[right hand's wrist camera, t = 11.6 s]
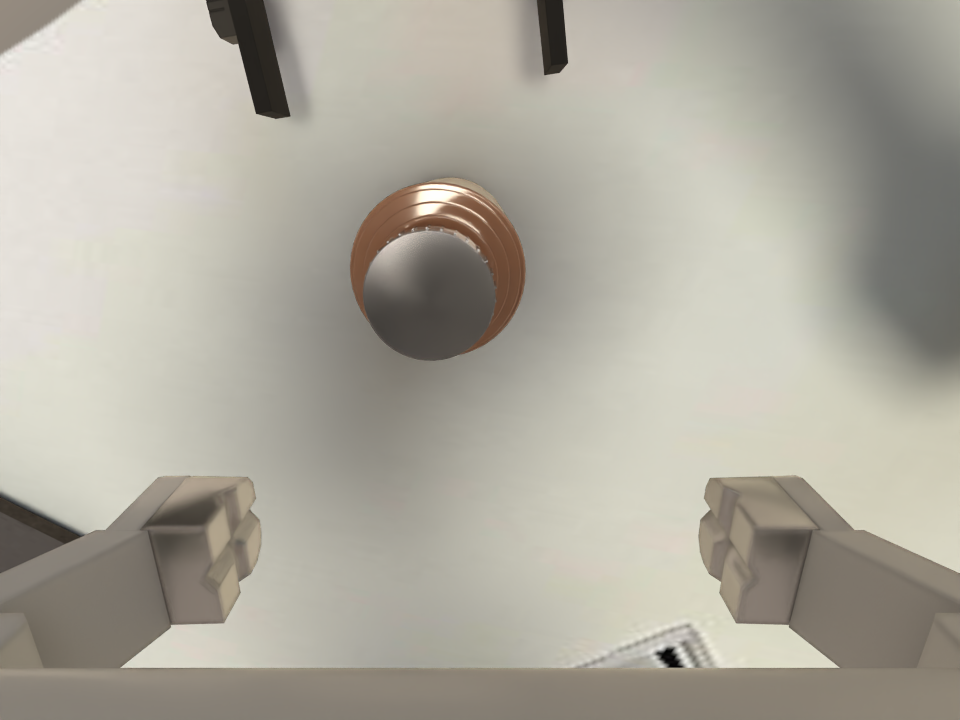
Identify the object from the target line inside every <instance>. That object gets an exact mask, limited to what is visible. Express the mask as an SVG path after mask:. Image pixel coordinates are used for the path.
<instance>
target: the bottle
mask: <svg viewBox="0 0 960 720" xmlns="http://www.w3.org/2000/svg"><path fill="white" fill-rule="evenodd" d="M428 224H431V226H438V227H441V226H442V225H443V226H444V227H445V228H448V229H451V230H454V231H455V229H456V230H458V231H457V232H459V233H461V234H462V235H464V236H466V237H467V236H469V239H470V240H471V241H472V242H473V243H475V245H476V246H477V245H479V246H480V250H481V251H482V253H483V254H484V256H487V257H488V263H489V265H490V268H493V273H494V275H493V279H494V281H496V287H497V289H495V294H496V299H497V302H495V308H494V316H492V319H491V322H490V324H489V327H488V328H487V330H486V331H485V333H484V334H483V336H482V337H481V338H480V339H479V340H478V341H477V342H476V343H475V344H474V345H473V346H472V347H470V348H469V349H468V350H466V351H465V352H463V353H461V354H465V353H467V352H470V351H473V350H475V349H477V348H479V347H481V346H483V345H485V344H486V343H488V342H489V341H491V340H492V339H493V338H495V337H496V336H497V335H498V334H499V333H500V332H501V331H502V330H503V329H504V328H505V327H506V325H507V324H508V323H509V322H510V320H511V319H512V317H513V315H514V314H515V312H516V310H517V308H518V306H519V304H520V301H521V298H522V294H523V290H524V285H525V274H526V268H525V257H524V253H523V248H522V245H521V242H520V239H519V237H518V235H517V233H516V231H515V229H514V227H513V225H512V224H511V222H510V220H509V219H508V217H507V216H506V214H505V213H504V211H503V210H502V208H501V206H500V205H499V204H498V202H497V201H496V199H495V198H494V197H493V196H492V195H491V194H490V193H489V192H488V191H487V190H485V189H484V188H482V187H481V186H479V185H478V184H476V183H473V182H471V181H468V180H465V179H461V178H450V177H447V178H439V179H435V180H431V181H427V182H423V183H419V184H416V185H412V186H408V187H406V188H403V189H401V190H398V191H396V192H395V193H393V194H391V195H389V196H388V197H386V198H385V199H384V200H382V201H381V202H380V203H379V204H378V205H377V206H376V207H375V208H374V209H373V210H372V211H371V212H370V213H369V214H368V216H367V217H366V218H365V220H364V221H363V223H362V225H361V227H360V228H359V230H358V232H357V235H356V238H355V240H354V243H353V247H352V252H351V260H350V277H351V283H352V288H353V292H354V295H355V298H356V301H357V303H358V305H359V307H360V309H361V311H362V313H363V314H364V316H365V317H366V319H367V320H368V318H367V315H366V312H365V309H364V303H363V284H364V279H365V275H366V272H367V270H368V267H369V265H370V264H369V263H370V262H371V261H372V260H373V258H374V257H375V256H376V254H377V251H378V250H379V249H380V248H381V247H384V246H385V245H386V244H387V243H386V242H387V241H388V240H389V239H391V238H392V237H393V238H395V237H396V236H398V234H399V233H400V232H401V231H403V230H404V231H408V230H410V229H412V228H413V227H415V226H417V227H424V226H427V225H428ZM368 322H369V320H368ZM369 323H370V322H369ZM459 355H460V354H459Z"/></svg>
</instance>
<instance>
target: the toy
mask: <svg viewBox="0 0 960 720" xmlns="http://www.w3.org/2000/svg"><path fill="white" fill-rule="evenodd" d="M78 538H80V536H78V535H76V534H74V533H72V532H70V531H68V530H66V529H64V528H62V527H60V526H58V525H56V524H54V523H52V522H49V521H47V520H45V519H43V518H41V517H39V516H37V515H35V514H33V513H31V512H29V511H27V510H25V509H23V508H21V507H19V506H17V505H15V504H13V503H11V502H9V501H7V500H5V499H3V498H1V497H0V573H2V572H5V571H7V570H9V569H11V568H13V567H16V566H18V565H20V564H22V563H25V562H27V561H29V560H31V559H33V558H36V557H38V556H40V555H42V554H44V553H47V552H49V551H51V550H53V549H56V548H58V547H60V546H62V545H64V544H67V543H69V542H71V541H73V540H76V539H78Z"/></svg>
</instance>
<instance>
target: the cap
mask: <svg viewBox="0 0 960 720" xmlns="http://www.w3.org/2000/svg"><path fill="white" fill-rule="evenodd" d="M457 231H458V230H456V229H455V231H454V230H451V229H448V228H445V227H444V226H443V225H442V226H441V227H438V226H431V224H428V225H427V226H424V227H417V226H415V227H413V228H412V229H410V230H408V231H404V230H403V231H401V232H400V233H399V234H398V236H396V237H395V238H393V237H392V238H391V239H389V240H388V241H387V242H386V243H387V244H386V245H385V246H384V247H381V248H380V249H379V250H378V251H377V254H376V256H375V257H374V258H373V260H372V261H371V262H370V263H369V264H370V265H369V267H368V270H367V272H366V275H365V279H364V284H363V303H364V309H365V312H366V315H367V318H368V320H369V322H370V324H371V326H372V328H373V329H374V331H375V332H376V334H377V335H378V336H379V337H380V338H381V339H382V340H383V341H384V342H385V343H386V344H387V345H388V346H389V347H391V348H392V349H394V350H395V351H397V352H399V353H401V354H403V355H405V356H408V357H411V358H414V359H419V360H429V361H435V360H443V359H447V358H451V357H454V356H456V355H459V354H461V353H463V352H465V351H466V350H468V349H469V348H470V347H472V346H473V345H474V344H475V343H476V342H477V341H478V340H479V339H480V338H481V337H482V336H483V334H484V333H485V331H486V330H487V328H488V327H489V324H490V322H491V319H492V316H494V308H495V302H497V299H496V294H495V289H497V287H496V281H494V279H493V275H494V273H493V268H490V265H489V263H488V257H487V256H484V254H483V253H482V251H481V250H480V246H479V245H477V246H476V245H475V243H473V242H472V241H471V240H470V239H469V236H467V237H466V236H464V235H462V234H461V233H459V232H457Z"/></svg>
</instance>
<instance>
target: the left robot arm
mask: <svg viewBox="0 0 960 720" xmlns="http://www.w3.org/2000/svg"><path fill="white" fill-rule="evenodd" d="M206 1H207V2H206V3H207V7H208V10H209V14H210V18H211V22H212V26H213V27H214V29H215V31H216V32H217V34H218V35H219V37H220V38H221V39H223V40H225V41H227V42H229V43H231V44H239V48H240V52H241V56H242V60H243V64H244V68H245V72H246V76H247V80H248V84H249V88H250V92H251V95H252V99H253V103H254V107H255V111H256V114H259V115H263V116H267V117H271V118H275V119H278V118H284V117H290V112H289V108H288V104H287V100H286V95H285V91H284V87H283V83H282V78H281V74H280V70H279V66H278V61H277V57H276V53H275V49H274V44H273V40H272V36H271V32H270V27H269V23H268V19H267V15H266V10H265V6H264V2H263V0H206ZM537 6H538V16H539V26H540V36H541V46H542V55H543V65H544V75H549V74H555V73H560V72H561V71H562V69H563V68H564V67H565V66H566V65H567V64H568V57H567V46H566V34H565V23H564V12H563V0H537Z"/></svg>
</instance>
